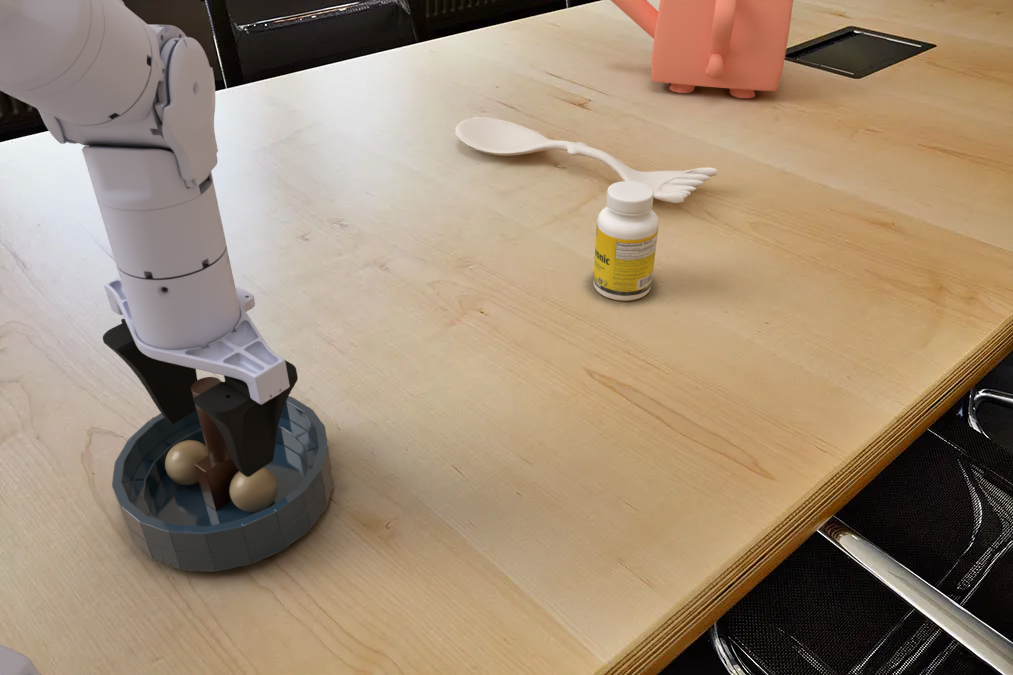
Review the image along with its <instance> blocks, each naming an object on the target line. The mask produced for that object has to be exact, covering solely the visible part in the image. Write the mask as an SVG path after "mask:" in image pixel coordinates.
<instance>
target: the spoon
mask: <svg viewBox="0 0 1013 675" xmlns="http://www.w3.org/2000/svg"><path fill="white" fill-rule="evenodd" d="M454 132H455V135H456V136H457V138H458V139H459V140H460V141H461V142H462V143H464V144H465V145H466V146H467V147H470V148H471V149H473V150H476V151H478V152H481V153H484V154H488V155H493V156H503V157H505V156H506V157H507V156H522V155H527V154H528V155H529V154H532V153H533V154H534V153H537V152H538V153H539V152H543V151H550V150H551V151H552V150H561V151H566V152H567V154H569V155H571V156H580V157H587V158H590V159H593V160H596V161H599V162H601V163H604V164H605V165H606V166H608V167H609V168H611V169H612V170H613V171H614V172H615V173H616V174H617V175H618V176H619V177H620V178H621V180H622V181H635V182H640V183H643V184H646V185H648V186H649V187H651V188H652V190H653V192H654V196H653V200H658V201H661V202H666V203H670V204H671V203H672V204H682V203H683V202H684V201H685V199H686V198H687V197H689V196H691V194H692V193H691V192H695V191H696V190H697V188H696V187H700V186H703V185H705V182H706V181H709V180H710V177H715V176H717V175H718V170H717V169H716V168H715V167H710V166H706V167H705V166H703V167H696V168H691V169H685V170H653V171H644V170H643V171H641V170H637V169H634V168H632V167H630V166H628V165H626V164H625V163H623V162H622V161H621V160H619V159H618V158H617V157H615V156H613V155H612V154H610V153H608V152H606V151H603V150H601V149H597V148H595V147H592V146H589V145H588V144H587V143H586V142H582V141H577V142H576V141H575V142H573V141H569V140H561V139H550V138H548V137H547V136H545V135H543V134H542V133H540V132H538V131H536V130H533V129H531V128H528V127H525V126H523V125H520V124H518V123H515V122H512V121H508V120H504V119H500V118H495V117H490V116H472V117H468V118H467V117H466V118H465V119H463V120H461V121H460V122H458V123H457V125H456V127H455V130H454Z"/></svg>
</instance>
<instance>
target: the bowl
mask: <svg viewBox="0 0 1013 675" xmlns="http://www.w3.org/2000/svg"><path fill="white" fill-rule="evenodd" d="M186 440H194V441H198V442H201V443H202V444H204V445H205V446H206V444H205V440H204V436H203V433H202V429H201V425H200V421H199V418H198V414H197V410H196V411H194V412H193V413H191V414H189V415H188V416H186V417H184V418H182V419H181V420H179V421H177V422H176V423H174V424H171V423H170V422H169V421H167V420H166V419H165V417H164V416H163V415H162V413H161V412H160V413H159V414H157V415H155V416H153V417H151V418H150V419H149V420H148V421H146V422H145V423H144V424H143V425H142V426H141V427H140V428H139V429H138V430H137V431H135V433H134V434H133V435H131V436H130V437H129V438H128V440H127V441H126V443H125V444H124V446H123V447H122V450H121V451H120V453H119V455H118V457H117V458H116V460H115V462H114V465H113V466H114V467H113V473H112V474H113V475H112V482H111V486H112V490H113V493H114V495H115V498H116V501H117V503H118V506H119V509H120V513H121V514H122V518H123V520H124V523H125V525H126V528H127V531H128V533H129V536H130V538H131V540H132V543H133V545H134V546H136V547H137V548H138V549H140V550H141V552H143V553H144V554H145V555H146V556H148V558H150V559H151V560H153V561H155V562H157V563H160V564H163V565H166V566H169V567H172V568H174V569H178V570H181V571H186V572H187V571H190V572H222V571H227V570H231V569H235V568H241V567H246V566H250V565H254V564H255V563H256V564H257V563H258V562H261V561H262V560H265V559H267V558H269V557H272V556H274V555H276V554H278V553H281V552H282V551H284V550H286V549H288V548H289V547H290V546H291V545H293V544H294V543H295V542H296V541H297V540H299V539H301V537H303V536H304V535H305V534H307V533H308V532H309V531H310V530H311V529H312V528H313V526H314V525H315V524H316V523H317V521H318V520H319V518H320V517H321V515H322V514H323V513H324V512H325V510H326V509H327V508H328V505H329V502H330V498H331V494H332V491H333V487H334V476H333V469H332V462H331V457H330V450H329V442H328V436H327V430H326V426H325V424H324V423H323V422H322V420H321V419H320V417H319V416H318V415H317V414H316V412H315V411H314V409H313V408H311V407H309V406H307V404H304V403H303V402H301V401H300V400H298V399H296V398H295V397H294V396H291V395H289V396H288V398H287V400H286V402H285V405H284V407H283V410H282V413H281V416H280V420H279V424H278V429H277V435H276V443H275V450H274V458H273V461H272V462H270V463H269V464H267V465H266V466H265V468H267V469H268V470H270V471H271V472H272V473H273V474H274V476H275V478H276V480H277V484H278V492H277V496H276V498H275V500H274V501H273V503H272V504H271V505H270V506H269V507H268V508H266V509H265V510H262V511H260V512H255V513H250V512H245V511H243V510H241V509H239V508H238V507H236V505H235V504H234V503H233V502H232V500H231V501H229V502H228V503H227V504H225V505H224V506H222V507H221V508H220V509H218V510H217V511H216V510H215V509H213V508H212V507H210V506H209V505H208V504H206V503H205V501H204V497H203V493H202V490H201V486H200V483H198V484H195V485H190V486H185V485H180V484H178V483H176V482H174V481H173V480H172V479H171V478H170V477H169V476H168V474H167V472H166V469H165V459H166V456H167V454H168V452H169V451H170V449H171V448H172V447H173V446H175V445H176V444H178V443H179V442H182V441H186Z"/></svg>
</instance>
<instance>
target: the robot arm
mask: <svg viewBox="0 0 1013 675" xmlns="http://www.w3.org/2000/svg"><path fill="white" fill-rule="evenodd" d="M0 92H2V93H3V94H7V95H8V96H10V97H12V98H14V99H17V100H19V101H20V102H23V103H25V104H27V105H29V106H31V107H33V108H35V109H36V110H38V113H39V115H40V117H41V119H42V121H43V124H44V125H45V127H46V129H47V130H48V132H49V133H50V135H51V136H52V137H53V138H54V139H55V140H56V141H57V142H58V143H59V144H61V145H64V144H67V143H68V144H75V145H77V144H79V145H81V146H83V147H82V148H81V152H82V154H83V158H84V161H85V165H86V168H87V171H88V175H89V179H90V182H91V185H92V188H93V192H94V195H95V198H96V202H97V205H98V209H99V212H100V215H101V219H102V222H103V225H104V229H105V232H106V235H107V238H108V242H109V245H110V249H111V252H112V255H113V258H114V262H115V266H116V269H117V272H118V276H119V277H117V278H115V279H112V280H110V281H108V282H106V283H104V284H103V286H104V290H105V293H106V296H107V299H108V303H109V306H110V309H111V311H112V312H114V313H116V314H117V315H120V316H123V318H121V323H120V324H118V325H115V326H114V327H111V328H110V329H108V330H107V331H106V332H104V334H103V336H102V340H103V343H104V344H105V345H106V346H107V347H108V348H109V349H110V350H112V351H113V352H114V353H115V354H116V355H117V356H119V358H120V359H122V361H123V362H124V363H126V365H127V366H128V367H129V368H130V370H131V371H132V372H133V373H134V374H135V376H136V377H137V378H138V379H139V381H140V383H141V384H142V385H143V387H144V389H145V390H146V392H147V394H148V395H149V396H150V399H151V400H152V402H153V403H154V404H155V406H156V408H157V409H158V411H159V412H160V414H161V413H162V415H163V416H164V417H165V419H166V420H167V421H169V422H170V423H171V424H174V423H176V422H177V421H179V420H181V419H182V418H184V417H186V416H188V415H189V414H191V413H193V412H194V411H196V406H195V404H196V405H197V406H198V407H199V408H201V409H202V410H203V411H204V412H205V413H206V414H207V415H208V416H209V417H210V418H211V419H212V421H213V422H214V423H215V425H216V426H217V427H218V429H219V431H220V432H221V434H222V436H223V438H224V440H225V442H226V445H227V447H228V450H229V452H230V455H231V457H232V460H233V462H234V464H235V465H236V467H237V469H238V470H239V471H240V472H241V473H242V474H243V475H245V476H246V477H250V476H251V475H253V474H254V473H256V472H257V471H259V470H260V469H262V468H263V467H265V466H266V465H267V464H269V463H270V462H272V461H273V458H274V450H275V443H276V435H277V429H278V424H279V420H280V416H281V413H282V410H283V407H284V405H285V402H286V400H287V398H288V396H290V394H291V392H292V390H293V389H294V387H295V385H296V384H297V382H298V380H299V377H298V371H297V367H296V366H295V364H293V363H291V362H289V361H288V360H286V359H284V358H283V357H281V356H280V355H278V354H277V353H275V352H274V350H272V349H271V347H270V346H269V345H268V343H267V342H266V340H265V339H264V338H263V335H261V333H260V330H258V328H257V327H256V324H254V322H253V320H252V319H251V317H250V316H249V314H248V313H247V312H248V311H250V310H252V309H253V308H255V307H256V301H255V296H254V295H253V294H252V293H250V292H249V291H246V290H245V289H243V288H241V287H238V286H236V284H235V279H234V274H233V269H232V265H231V264H232V263H231V260H230V255H229V250H228V246H227V241H226V235H225V231H224V230H225V229H224V226H223V221H222V216H221V212H220V207H219V203H218V198H217V192H216V187H215V183H214V178H213V177H214V176H213V173H212V171H213V169H214V168H215V167H217V165H218V152H219V148H218V144H217V138H216V133H215V113H216V84H215V75H214V69H213V67H212V66H210V63H209V59H208V56H207V55H206V52H205V50H204V48H203V47H202V45H201V44H200V42H198V40H197V39H195V38H193V37H190V36H187V35H186V33H185V32H184V31H183V30H182V29H180V28H179V27H177V26H176V25H172V24H149V23H147V22H145V20H143V19H142V18H140V17H139V16H138V15H137V14H136V13H135V12H133V11H132V10H131V9H129V7H128V6H126V5H125V2H124V1H123V0H0ZM197 370H199V371H203V372H207V373H213V374H216V375H220V376H223V378H224V381H222V380H221V382H220V383H219V384H217V385H215V386H213V387H212V388H210V389H208V390H207V391H205V392H203V393H201V394H200V395H198V396H196V397H195V398H194V399H193V395H192V391H191V387H192V385H193V383H194V382H196V381H197V380H198V375H197ZM0 675H42V674H41V673H40V671H38V669H37V667H36V666H35V664H34V663H33V661H32V660H31V658H30V657H29V656H26V655H25V654H23V653H21V652H20V651H18V650H17V651H16V650H14V649H12V648H10V647H8V646H6V645H3V644H1V643H0Z"/></svg>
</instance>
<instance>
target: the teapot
mask: <svg viewBox="0 0 1013 675" xmlns="http://www.w3.org/2000/svg"><path fill="white" fill-rule="evenodd" d="M610 1H611V2H612V3H613V4H614V5H615V6H616V7H617V8H618V9H620V10H621V11H622V12H623V13H624V14H625V15H626V16H627V17H628V18H630V20H632V21H633V23H635V24H636V25H637V26H639V28H641V29H642V30H643V32H645V33H647V35H648V36H650V37H651V38H652V39H653V44H652V54H651V62H650V63H651V64H650V66H651V68H650V70H651V71H650V78H651V82H656V83H664V84H670V86H669V90H670V91H672V92H674V93H678V94H689V93H693V92H694V91H695V89H696V87H707V88H720V89H729V94H730V95H731V96H733V97H735V98H740V99H751V98H754V97H755V96H756V92H755V91H764V92H777V90H778V87H779V84H780V80H781V78H782V74H783V70H784V64H785V61H786V60H785V59H786V53H787V48H788V42H789V41H788V40H789V34H790V28H791V20H792V12H793V6H794V0H659V5H658V9H657V8H656V7H654V5H652V4H651V2H649V1H648V0H610Z"/></svg>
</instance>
